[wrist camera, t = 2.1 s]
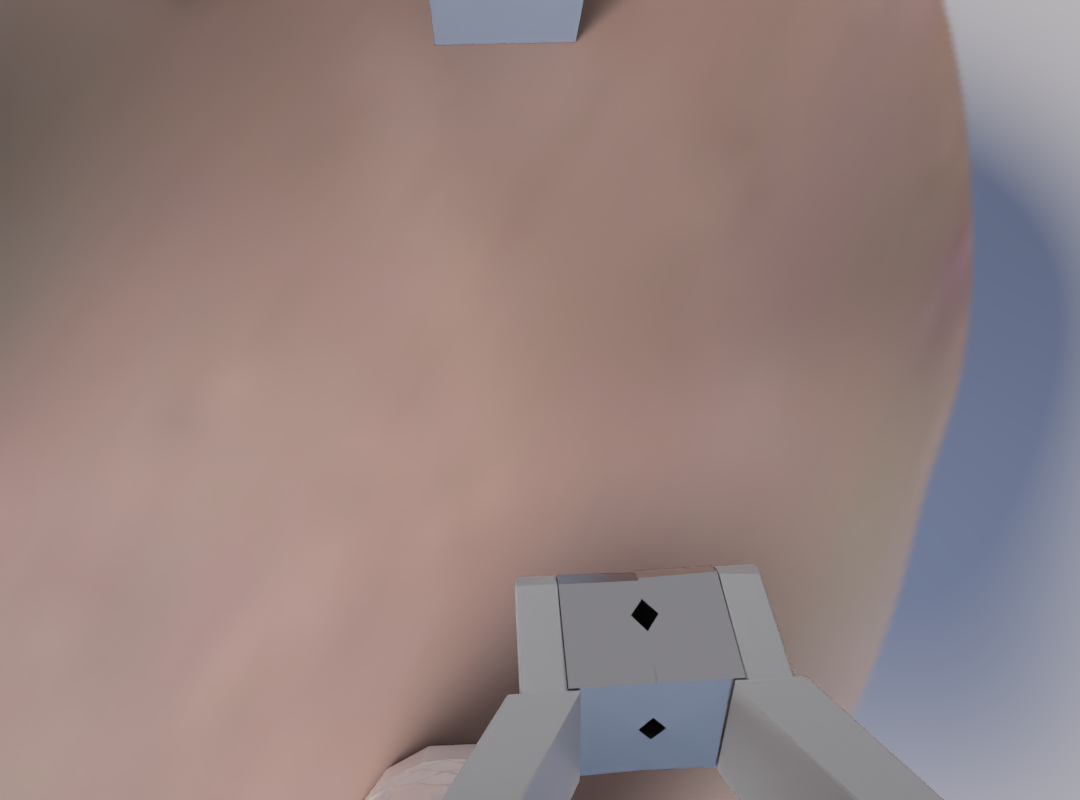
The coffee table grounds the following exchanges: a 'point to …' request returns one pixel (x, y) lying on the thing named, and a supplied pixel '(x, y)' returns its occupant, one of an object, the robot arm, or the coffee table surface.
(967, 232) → the coffee table surface
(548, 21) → the domino
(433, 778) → the white cup
